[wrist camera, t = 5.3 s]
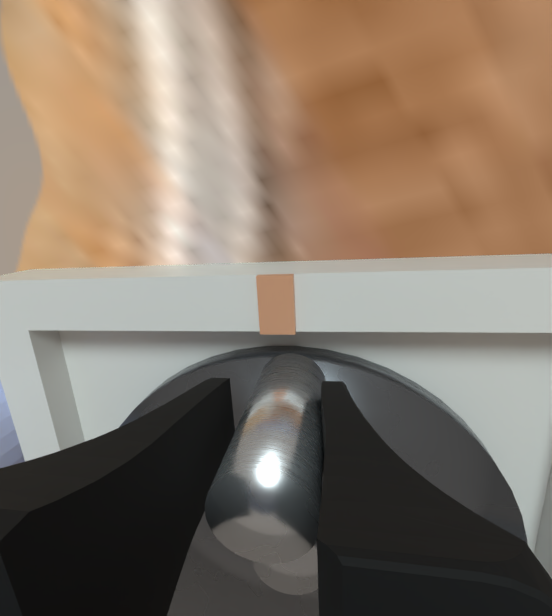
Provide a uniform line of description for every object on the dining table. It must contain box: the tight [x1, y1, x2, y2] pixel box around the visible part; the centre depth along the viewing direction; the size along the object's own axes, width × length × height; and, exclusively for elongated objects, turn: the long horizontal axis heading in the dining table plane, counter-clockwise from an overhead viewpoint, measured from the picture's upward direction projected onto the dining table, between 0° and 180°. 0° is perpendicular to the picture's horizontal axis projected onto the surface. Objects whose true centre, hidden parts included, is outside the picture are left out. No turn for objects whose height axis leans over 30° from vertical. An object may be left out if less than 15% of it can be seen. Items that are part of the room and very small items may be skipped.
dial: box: [119, 346, 528, 616], centre depth 12 cm, size 18×18×7 cm
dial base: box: [0, 254, 552, 579], centre depth 16 cm, size 24×24×3 cm
